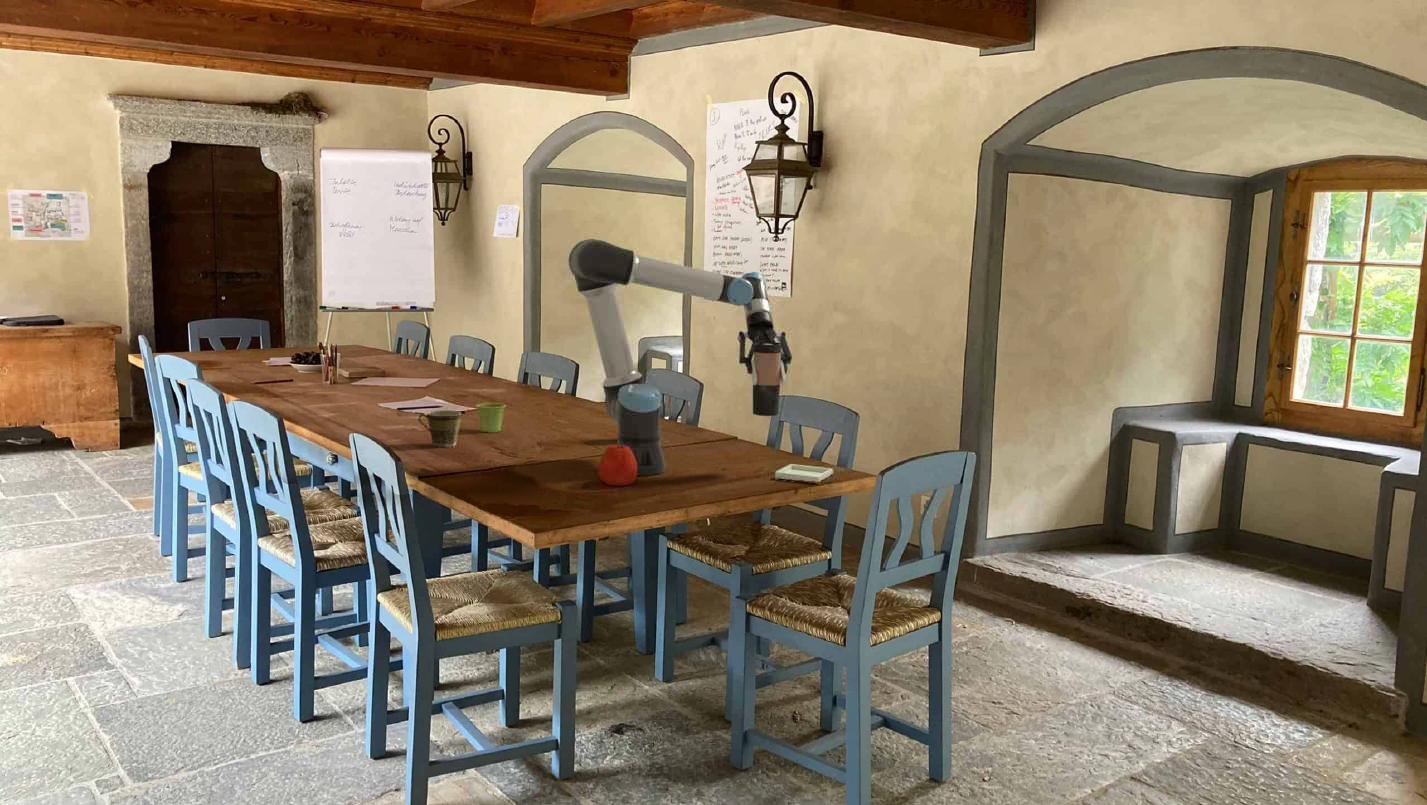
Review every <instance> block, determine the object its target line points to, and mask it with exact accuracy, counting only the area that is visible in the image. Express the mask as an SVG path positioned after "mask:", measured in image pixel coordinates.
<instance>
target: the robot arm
mask: <svg viewBox="0 0 1427 805" xmlns="http://www.w3.org/2000/svg"><path fill="white" fill-rule="evenodd" d="M568 255H569V256H568V267H569V270H570V271H571V273H572V275H573V276H574V279H575V284H576V288H577V291H578V293H579V294H581V295H582V296H584V297H585V300H586V304H587V308H588V312H589V317H590V320H591V324H592V328H593V331H594V335H595V339H596V342H597V347H598V351H599V355H600V359H601V362H602V366H603V370H604V374H605V379H604V380H603V382H602V387H603V392H604V395H605V397H604V405H605V409H606V411H607V413H608V416H610V417H611V418H612V419H613V420H614V421H616V422H617V444H616V445H626V446H627V447H629V448H630V449H631V451H632V452H633V454H634V457H635V459H636V462H637V467H638V468H637V476H653V475H658V474H662V473H665V472H666V465H667V464H666V460H665V457H664V452H663V450H662V446H661V442H660V441H661V408H662V407H661V406H662V396H661V391H660V390H659V389H658V388H657V387H656V386H653V385H649V384H645V382H644V378H643V374H642V373H640V372H639V371H637V370H636V368H635V364H634V360H633V356H632V352H631V349H630V348H631V347H630V345H629V340H628V336H627V332H626V329H625V324H624V321H623V320H624V319H623V316H622V312H621V308H620V303H619V301H618V296H617V291H616V288H617V286H618V285H622V286H628V285H630V284H635V285H640V286H643V287H644V286H645V287H649V288H654V289H658V290H659V289H660V290H663V291H669V292H673V293H678V294H681V295H682V294H683V295H687V296H692V297H697V298H701V299H702V298H703V299H704V300H708V301H712V302H720V303H724V304H730V305H733V306H736V307H737V306H738V307H739V306H743V309H744V317H745V323H746V324H745V325H746V329H747V332H743V331H741V330H740V331H738V332H739V333H738V336H737V340H738V342H739V353H738V354H739V355H738V356H739V358H738V363H739V364H740V365H743V364H744V365H745V368H746V371H747V374H749V375H751V380H752V381H751V382H752V386H753V385H756V382H757V375H756V368H755V363H754V359H753V358H754V343H755V342H776V339H777V342H778V343H781V368H780V386H785V383H786V381H787V378H786V377H787V376H786V375H787V372H788V369H789V368H788V365H790V364H791V363H792V359H793V356H792V353H791V351H790V347H789V344H788V342H787V340H786V332H785V331H782V332H777V331H776V330H775V327H774V322H773V316H772V310H771V306H770V301H769V294H768V285H767V284H766V279H765V277H764V276H763V275H762V274H761V273H759V272H756V271H751V272H746V273H744V274H743V275H742V276H741V277H736V276H731V275H725V274H721V273H718V272H712V271H708V270H704V269H699V268H695V267H690V266H687V265H681V264H678V263H677V264H676V263H672V262H669V261H668V262H667V261H665V260H664V261H663V260H660V259H654V258H650V257H645V256H640V255H637V254H636V252H635V251H634V250H632V249H627V248H623V247H621V246H617V245H614V244H612V243H610V242H607V241H605V240H600V239H594V238H590V239H584V240H581V241H580V242H577V243H576V244H575V245H574V247H572V249H571V250H570V252H569V254H568ZM775 338H776V339H775ZM747 339H748V340H750V341H751V342H752V343H751V346H750V349H749V352H748V355H747V357H746V340H747Z"/></svg>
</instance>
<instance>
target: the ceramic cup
mask: <svg viewBox="0 0 1427 805" xmlns="http://www.w3.org/2000/svg"><path fill="white" fill-rule="evenodd" d="M421 417H425V419H427V421H428V425H429V426H427V425H426V424H425V423H424V422H422V420H421ZM461 420H462V412H460V411H457V410H456V411H455V410H434V411H429V412H427V413H426V414H425V413H423V414H420V415H419V416H418V421H419V423H420V424H421V425H423V427H425V429H426V430H428V431H429V433H430V435H431V441H432V446H433V445H434V446H433V447H435V446H440V447H439V448H441V447H447V446H454V447H456V446H457V442H458V435H459V429H460V425H461V424H460V423H461ZM455 445H456V446H455ZM447 448H448V447H447Z"/></svg>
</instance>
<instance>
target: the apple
mask: <svg viewBox="0 0 1427 805" xmlns="http://www.w3.org/2000/svg"><path fill="white" fill-rule="evenodd" d="M637 468H638V467H637V462H636V459H635V457H634V454H633V452H632V451H631V449H630V448H629V447H627V446H626V445H617V444H616V445H610V446H608V447H607V448H606V449H605V450H604V452H603V454H602V455H601V459H600V461H599V465H598V474H599V477H600V479H601V481H603V483H605V484H607V485H608V486H614V487H621V486H622V487H623V486H624V487H625V486H629V485H632V484H633V483H635V481H636V479H637V477H638V475H637Z"/></svg>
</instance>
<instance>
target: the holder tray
mask: <svg viewBox="0 0 1427 805" xmlns="http://www.w3.org/2000/svg"><path fill="white" fill-rule="evenodd" d="M831 474H833V475H834V468H830V467H829V468H828V467H820V466H811V465H802V464H795V463H794V464H793V463H790V464H788V465H786V466H784V467H782V468H780V469H778V470H776V471H775V472H774V479H775V478H781V479H792V480H804V481H815V482H820V481H821V480H823V479H825V478H827V477H829V476H830V475H831Z"/></svg>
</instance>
